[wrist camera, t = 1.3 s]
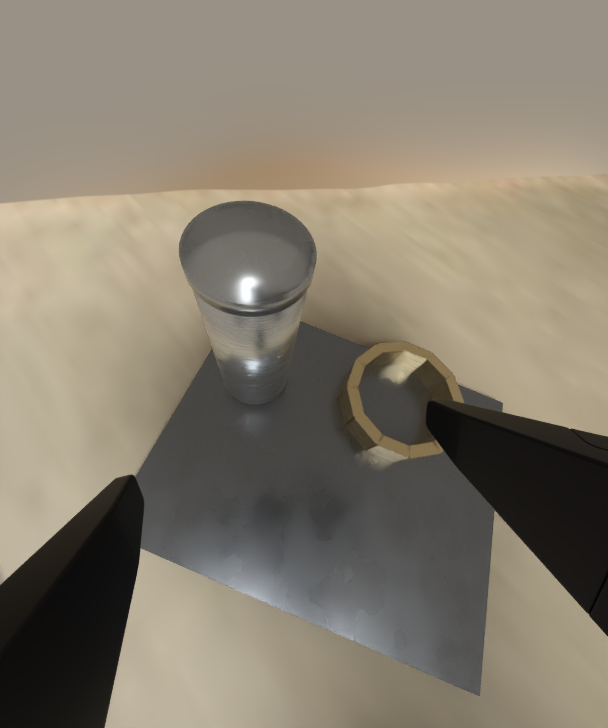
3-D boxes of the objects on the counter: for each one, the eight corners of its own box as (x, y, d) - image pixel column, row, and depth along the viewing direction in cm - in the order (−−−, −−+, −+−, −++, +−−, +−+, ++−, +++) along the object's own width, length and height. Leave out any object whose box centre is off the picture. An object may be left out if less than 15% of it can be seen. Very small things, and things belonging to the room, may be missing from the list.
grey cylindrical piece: (272, 416, 22) (286, 325, 10) (208, 390, 22) (150, 270, 10) (298, 358, 24) (333, 229, 12) (239, 334, 24) (220, 184, 13)
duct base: (470, 688, 18) (513, 726, 15) (109, 530, 19) (80, 536, 16) (496, 402, 26) (526, 390, 23) (244, 301, 27) (242, 276, 24)
